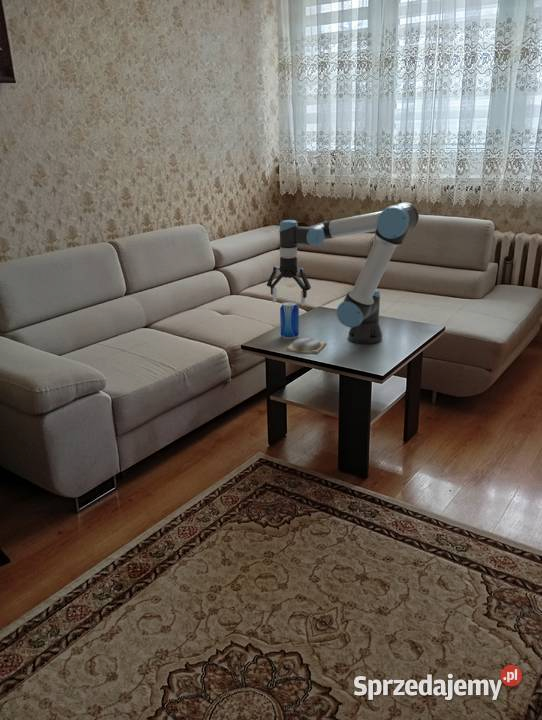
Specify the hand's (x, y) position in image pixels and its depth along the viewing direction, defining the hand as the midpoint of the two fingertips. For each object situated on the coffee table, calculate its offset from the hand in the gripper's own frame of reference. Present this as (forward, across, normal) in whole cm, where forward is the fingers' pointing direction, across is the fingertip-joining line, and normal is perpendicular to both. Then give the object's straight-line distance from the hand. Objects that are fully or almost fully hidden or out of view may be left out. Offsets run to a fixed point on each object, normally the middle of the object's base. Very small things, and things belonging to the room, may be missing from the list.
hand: (288, 303), depth 274 cm
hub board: (+16, -12, +11) cm, 23 cm away
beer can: (+16, -1, 0) cm, 16 cm away
